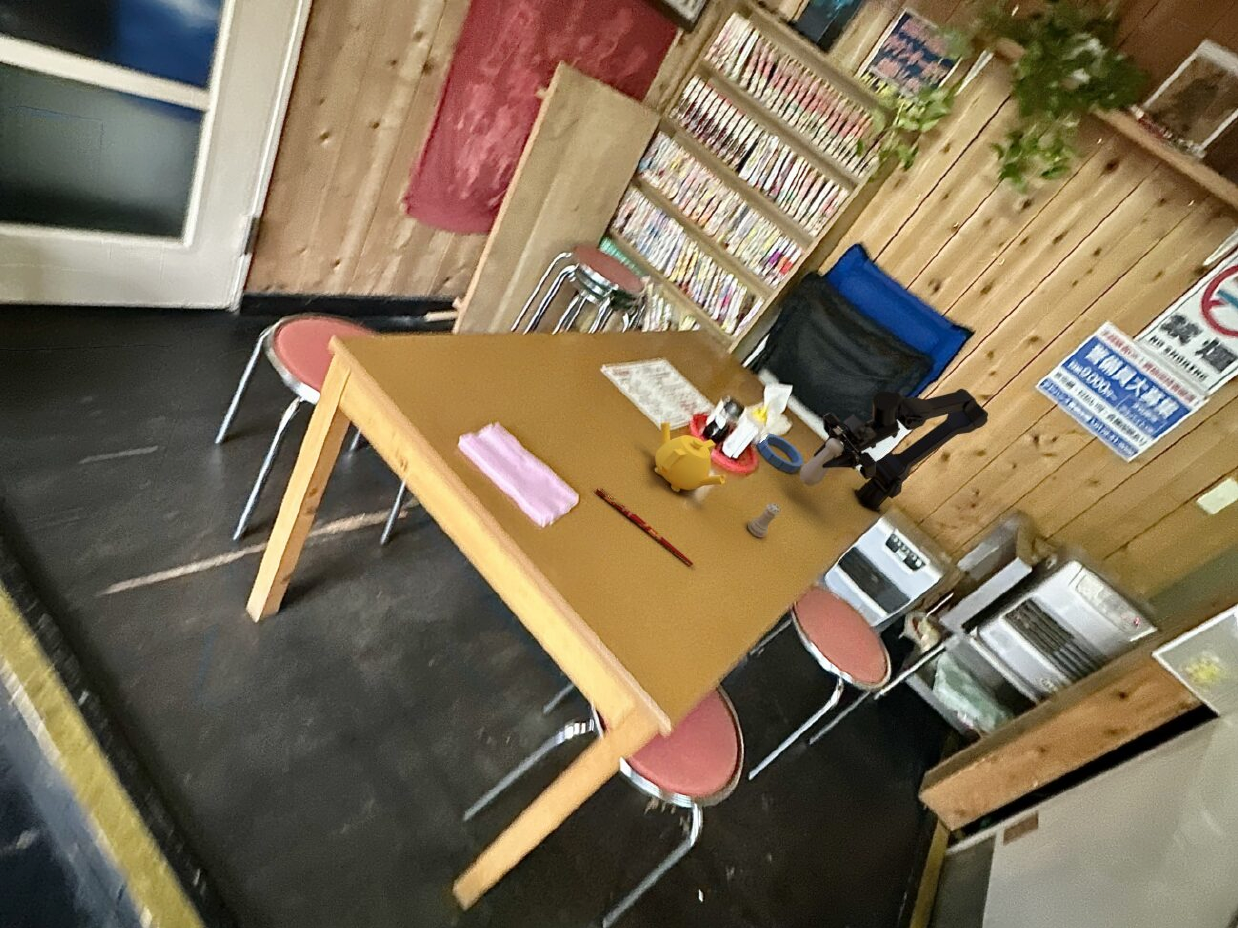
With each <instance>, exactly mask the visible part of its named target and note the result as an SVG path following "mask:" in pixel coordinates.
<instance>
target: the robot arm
mask: <svg viewBox="0 0 1238 928" xmlns="http://www.w3.org/2000/svg"><path fill="white" fill-rule="evenodd" d="M871 414H872V419H870V420H869V421H866V420H860V419H859V418H858V417H857V415H855V413H853V414H852V415H850V416H849V417H847V418H846V419H845V420H843V421H841V420H840V419H839V418H838V416H836V414H835V413H834V412H828V413H826V414H824V415H822V425H823V430H824V432H825V434H826V435H828V437H827V438H826V440H825V442H824V443H822V445H821V446H820V447H819V448H818V449H817V450H816V452H815V453H814V454H813V458H814V457H815V456H816V455H817V454H819V453H820V452H821V451H822V450H823V449H824V448H825V447H826V442H827V441H828V440H829V439H831V438H834V439H837V440H838V441H840V442H841V443H842V444H843V447H845V448H846V450H845V451H843V452H842V453H841V454H839V455H836V457H835V458H833V459H831V460H829V461H827V462H826V463H824V464H823V465H822V467H823V468H829V469H832V468H847V469H848V468H849V469H850V468H851V469H852V470H856V469H857V467H859V466H860V467H859V471H858V472H859V473H860V475H861V476H862V477H863V478H864V479H865V480H867V482H864V484H863V485H861V487H860V488H859V489H857V488H856V489H854V492H855V495H856V496H857V498H858V500H859V503H860V504H861V506H863V507H865V508H868V509H870V510H873V511H876V512H878V513H880V512H881V509H880V506H881V505H882V504H883V503H885V501H886V500H887V499H888V498H890V499H894V498H896V497H897V496H899V495H900V494H901V493H902V487H903V483H904V482H905V481H906V480H908V477H909V474H910V473H911V470H912V468H913V467H915V466H916V465H917V464H918V463H920V462H922V461H923V460H925V459H926V458H927V457H928V456H930V455H931V454H932V453H934V452H935V451H937V450H938V449H940V448H941V447H943V446H944V445H945V444H946V443H948V442H949V441H951V440H952V439H953V438H954V437H956V436H957V435H964V434H970V433H972V432H974V431H976V430H977V429H980V428H983V427H984V426H985V425H986V424H987V422H988V416H989V412H988V411H987V410H986V409H985V408H983V406H981V405H980V404H979V403H978V401H977V400H976V397H974V395H972V394H971V393H970V392H969V391H968V390H967V389H964V388H959V389H957V390H956V391H954V392H949V393H945V394H941V395H938V396H933V397H929V398H920V397H918V396H906V397H903V395H902V394H901V393H900V392H899V391H895V392H891V391H880V392H878V393H876V394H875V395H874V397H873V398H872V413H871ZM946 415H947V416H946ZM942 416H946V419H944V421H942V422H941V423H940V424H938V425H937V426H935V427H934V428H932V429H931V430H929V431H928V432H927V433H926V434H924V435H923V436H922V437H920V438H919V439H917V440H916V441H915V442H913V443H912V444H911V445H909V446H908V447H907V448H905V449H904V450H903V451H901V452H899V453H893V452H887V453H886V454H885V455H884V456H882V457H880V458H879V459H877V460H875V458H873V457H872V455H870V453H869V452H867V451H866V450H868V449H869V448H871V450H873V449H875V448H876V447H877V444H880V443H881V442H882V441H884V440H887V439H888V438H890V437H892V439H896V438H897V437H898V435H899V432H900V430H901V428H900V426H899V425H900V424H901V425H902V427H903V428H904V429H905V430H907V431H911V430H916V429H918V428H921V427H923V426H924V425H925V423H926V422H927V421H928V420H930V419H935V418H938V417H942ZM842 423H843V424H844V425H845V426H846V427H844V429H845V432H844V430H843V429H842ZM899 423H900V424H899Z"/></svg>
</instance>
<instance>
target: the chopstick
mask: <svg viewBox="0 0 1238 928" xmlns="http://www.w3.org/2000/svg"><path fill="white" fill-rule="evenodd" d="M602 490H603V489H602ZM595 493H597V494H598V495H599V496H601V497H602V498H603V499H605V501H607V502H608V503H610V504H611V505H612V506H613V507H615V508H616V509H617V510H619V511H620V512H621V513H622V514H624V516H626V517H628V518H629V519H631V520H632V521H633V522H634V523H636V524H637V525H638V526H639V527H641V528H642V529H643V530H645V531H646V532H647V533H649V534H650V535H651V536H653V537H654V538H655V539H656V540H658V541H659V542H660V543H661V544H663V545H664V546H665V547H666V548H668V549H669V550H671V552H673V553H674V554H676V555H677V556H678V557H680V558H681V559H682V560H684V561H685V562H687V564H688V565H690V566H693V565H694V563H693V561H691V560H690V559H689V558H688V557H687V556H685V554H683V553H682V552H681V551H680V550H678V549H677V548H676V547H675V546H674V545H673V544H672V543H670V542H669V541H668V540H666V539H665V538H664V537H663V536H662V535H661V534H660V533H659V532H657V531H656V530H655V529H654V528H653V527H651V525H649V524H648V523H647V522H646V521H644V520H643V519H642V518H641V517H640V516H638V515H637V513H635V512H634V511H633V510H631V512H630V511H629V510H628V509H627V510H628V511H625V510H624V509H623V508H621V507H620V506H619V505H617V504H616V503H615V502H614V501H612V500H611V499H610V497H611V496H612V495H611V496H610V497H609V495H608V497H609V498H608V497H607V496H606V495H605V494H603V493H602V492H601V491H599V490H598V488H597V489H596V490H595ZM607 494H608V493H607ZM611 498H613V497H611ZM613 499H614V498H613ZM617 502H618V501H617ZM618 503H619V502H618ZM619 504H620V503H619ZM622 506H623V505H622ZM623 507H624V508H625V506H623ZM627 507H628V506H627ZM627 507H626V508H627ZM626 508H625V509H626ZM632 512H633V513H635V514H633V513H632ZM630 513H631V514H630Z"/></svg>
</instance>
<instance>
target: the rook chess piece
mask: <svg viewBox="0 0 1238 928" xmlns="http://www.w3.org/2000/svg"><path fill="white" fill-rule="evenodd" d="M780 511H781V508H780V505H778V504H777V503H776V502H770V503H768V504H767V505H766V509H764V510H763V512H762V513H761V514H760V516H758V517H756V518H753V519H752V520H750V522H749V523H748V524H747V529H748V532H750V533H751V535H753V536H754V537H756V538H763V537H765V535H766V534H767V533H768V529H769V526H770V524H771V522H772V521H773V520H774V519H775V518H776V516H779V515H780Z"/></svg>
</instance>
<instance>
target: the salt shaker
mask: <svg viewBox="0 0 1238 928" xmlns="http://www.w3.org/2000/svg"><path fill="white" fill-rule="evenodd" d="M825 442H826V441H825ZM844 447H845V446H844V444H843V443H842V442H840V441H838V440H837V439H834V438H831V439H829V440H828V441H827V442H826V447H825V448H824V449H823V450H822V451H821V452H820V453H819V454H817V455H816V456H815V457H814V456H813V457H812V458H811V459H810V460H809V461H807V462H805V464H803V465H802V466H801V467H800V473H799V479H800V480H801V482H802V483H803V484H805V485H806V486H808V487H813V486H816V485H818V484H820V483H821V482H823V480H824V478H825V477H826V475H827V472H828V471H829V470H830V468H823V467H822V465H823V464H824V463H826V462H827V461H829V460H831V459H833V458H835V457H837V456H839V455H841V454H843V453H844V449H845V448H844Z"/></svg>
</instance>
